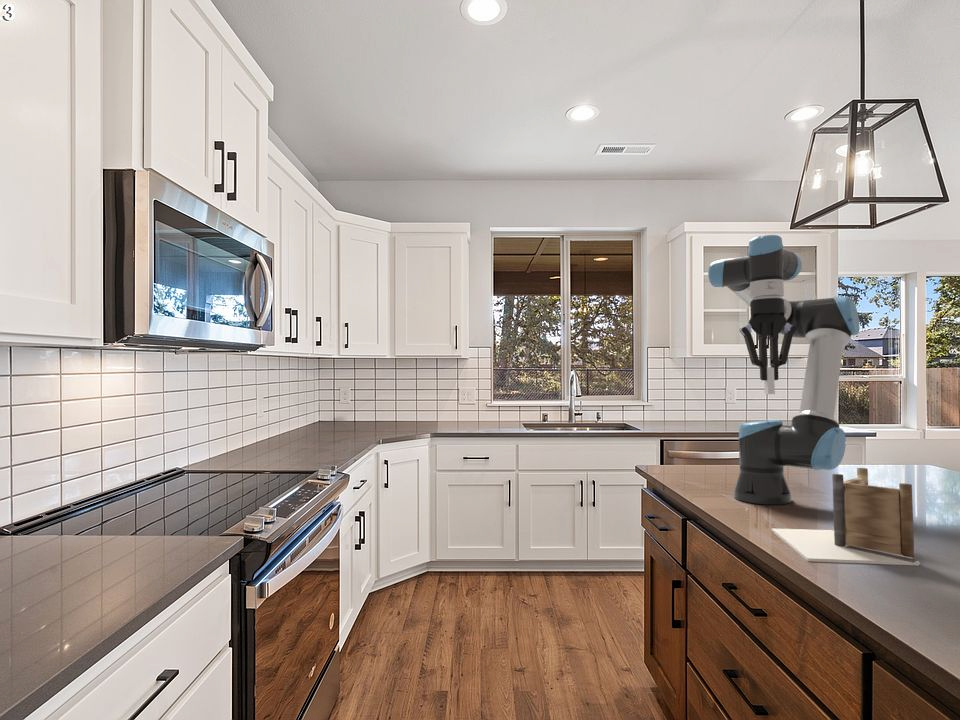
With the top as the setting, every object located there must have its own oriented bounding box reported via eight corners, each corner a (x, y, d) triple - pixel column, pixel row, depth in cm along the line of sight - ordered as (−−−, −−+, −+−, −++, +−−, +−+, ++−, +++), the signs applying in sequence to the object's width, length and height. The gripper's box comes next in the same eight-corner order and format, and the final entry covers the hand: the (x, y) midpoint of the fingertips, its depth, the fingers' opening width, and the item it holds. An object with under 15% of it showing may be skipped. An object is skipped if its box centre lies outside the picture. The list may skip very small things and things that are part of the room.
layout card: (771, 530, 135) (771, 528, 135) (865, 533, 132) (865, 530, 132) (807, 561, 113) (807, 558, 113) (921, 566, 110) (921, 562, 110)
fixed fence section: (843, 547, 120) (840, 475, 121) (832, 544, 122) (830, 474, 122) (871, 535, 128) (869, 468, 129) (861, 533, 130) (859, 467, 130)
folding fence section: (846, 544, 120) (844, 478, 120) (850, 542, 121) (847, 476, 121) (912, 557, 111) (910, 485, 111) (915, 555, 112) (913, 484, 113)
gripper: (743, 298, 139) (745, 394, 138) (801, 295, 136) (804, 394, 136) (735, 301, 146) (737, 393, 145) (789, 299, 144) (792, 393, 143)
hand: (769, 393), depth 141 cm, fingers closed
